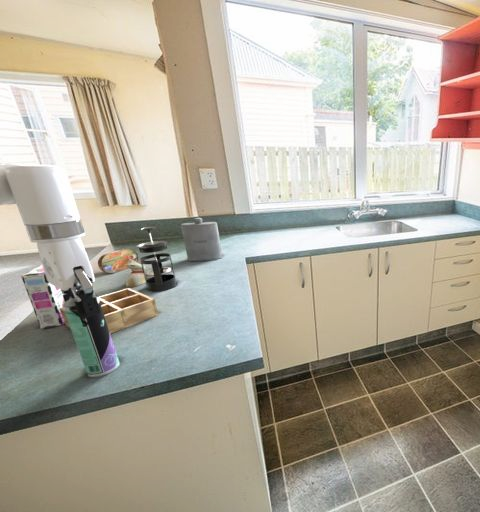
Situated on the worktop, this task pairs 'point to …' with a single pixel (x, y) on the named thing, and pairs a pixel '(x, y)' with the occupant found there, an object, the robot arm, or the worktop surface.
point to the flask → (201, 240)
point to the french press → (157, 265)
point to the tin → (117, 260)
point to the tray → (124, 309)
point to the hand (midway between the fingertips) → (84, 311)
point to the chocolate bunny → (135, 274)
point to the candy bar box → (44, 298)
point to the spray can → (92, 340)
